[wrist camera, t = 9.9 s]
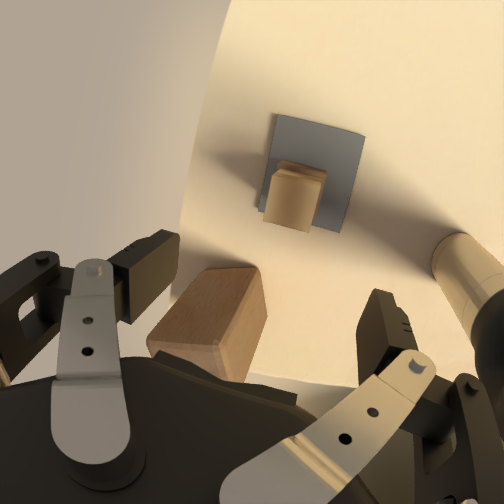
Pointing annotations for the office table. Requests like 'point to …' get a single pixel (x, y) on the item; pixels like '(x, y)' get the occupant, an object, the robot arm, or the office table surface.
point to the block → (215, 322)
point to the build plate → (317, 163)
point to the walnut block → (308, 171)
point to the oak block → (292, 199)
